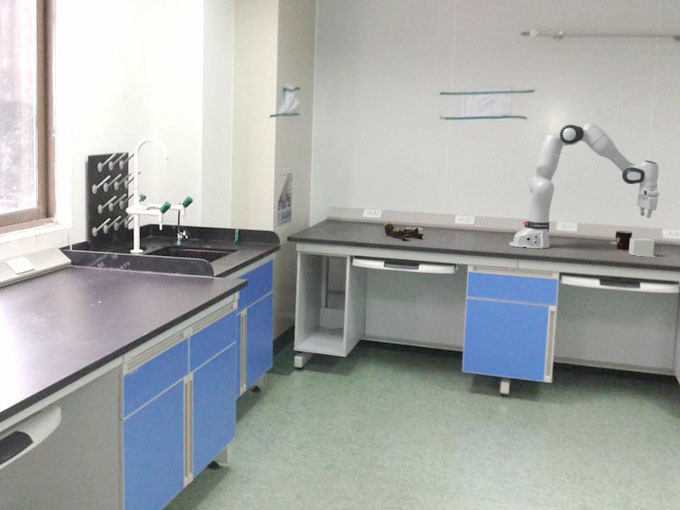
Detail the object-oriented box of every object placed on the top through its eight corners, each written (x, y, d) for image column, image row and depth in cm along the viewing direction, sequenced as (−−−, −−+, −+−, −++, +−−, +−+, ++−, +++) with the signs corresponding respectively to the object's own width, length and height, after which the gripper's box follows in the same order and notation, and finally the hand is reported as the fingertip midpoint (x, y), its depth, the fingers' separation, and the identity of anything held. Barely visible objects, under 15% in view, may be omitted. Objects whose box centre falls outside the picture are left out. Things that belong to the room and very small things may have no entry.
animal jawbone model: (402, 238, 483) (406, 222, 481) (425, 247, 462) (429, 231, 460) (379, 234, 474) (383, 217, 472) (401, 243, 453) (405, 226, 452)
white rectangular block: (632, 255, 428) (634, 240, 427) (628, 253, 435) (630, 238, 433) (652, 256, 428) (654, 240, 426) (648, 254, 435) (649, 238, 433)
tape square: (637, 256, 426) (637, 256, 426) (631, 253, 436) (631, 252, 436) (655, 257, 426) (655, 256, 426) (649, 253, 436) (649, 253, 436)
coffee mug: (631, 250, 445) (633, 233, 443) (615, 249, 446) (617, 232, 445) (628, 247, 456) (630, 230, 454) (613, 246, 458) (614, 229, 456)
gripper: (635, 189, 435) (633, 214, 438) (648, 192, 415) (646, 218, 418) (646, 189, 435) (644, 214, 438) (660, 193, 415) (658, 219, 418)
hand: (645, 216), depth 428 cm, fingers open, 8 cm apart
